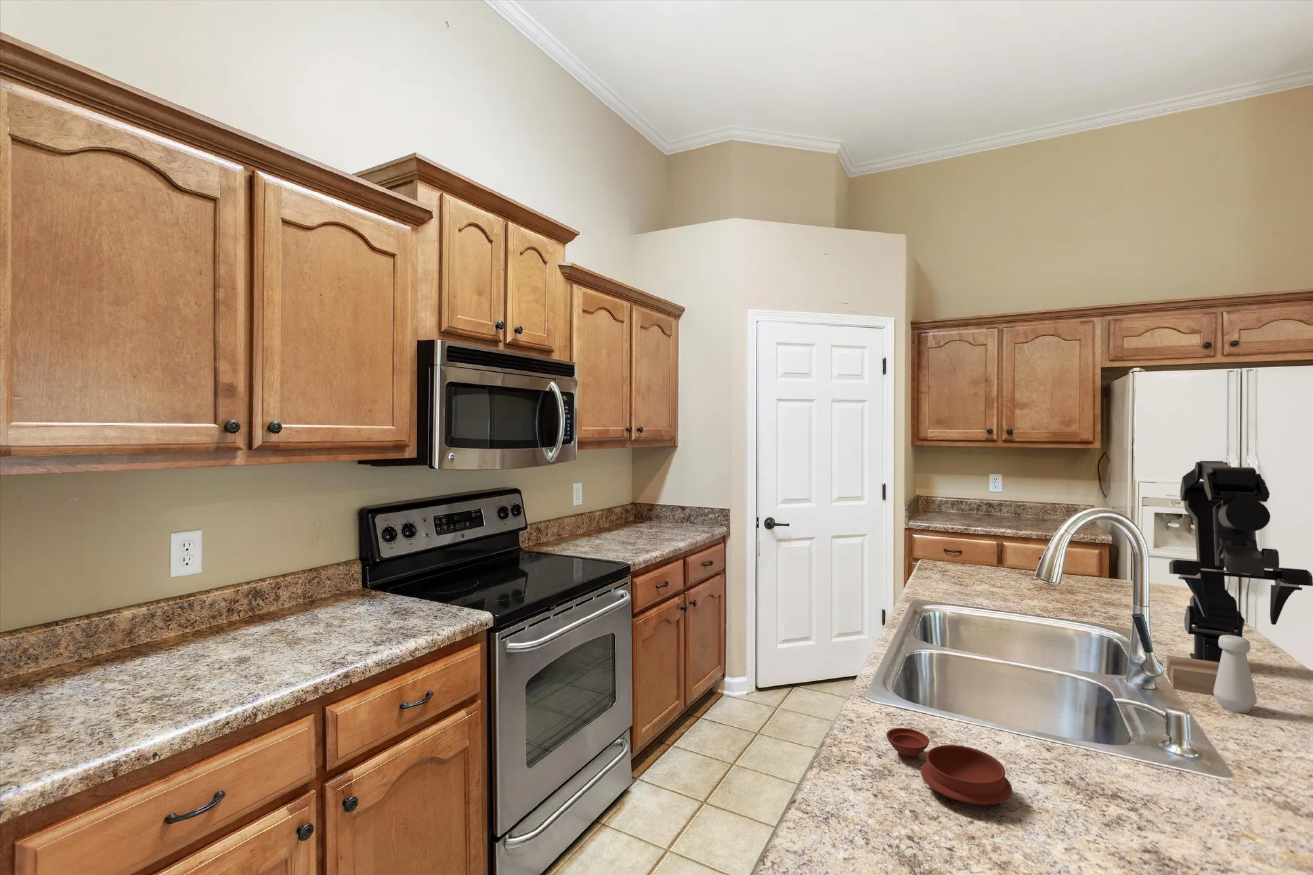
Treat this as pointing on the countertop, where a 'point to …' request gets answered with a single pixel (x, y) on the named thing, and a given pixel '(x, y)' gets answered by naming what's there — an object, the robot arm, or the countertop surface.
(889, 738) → the pottery
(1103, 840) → the countertop surface
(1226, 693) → the salt shaker
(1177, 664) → the walnut plinth
